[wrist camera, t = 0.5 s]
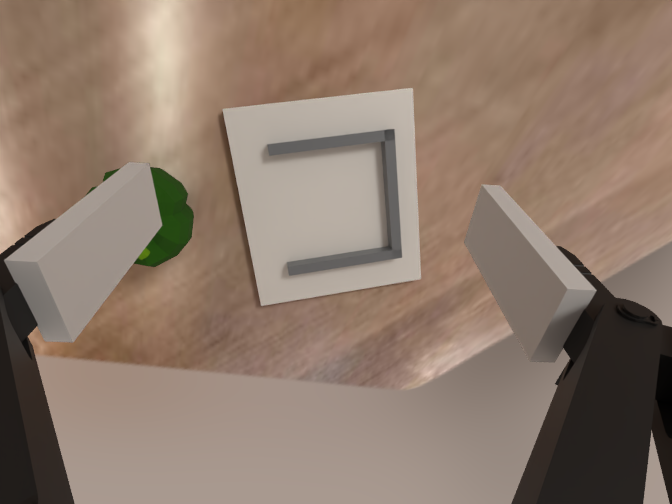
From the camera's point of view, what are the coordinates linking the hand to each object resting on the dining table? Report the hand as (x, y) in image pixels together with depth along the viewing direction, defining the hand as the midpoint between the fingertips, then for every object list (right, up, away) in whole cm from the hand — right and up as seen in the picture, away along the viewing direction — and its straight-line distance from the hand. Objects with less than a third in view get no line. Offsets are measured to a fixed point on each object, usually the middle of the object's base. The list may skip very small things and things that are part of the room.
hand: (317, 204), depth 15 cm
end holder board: (0, +3, +24) cm, 24 cm away
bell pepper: (-17, +3, +22) cm, 28 cm away
